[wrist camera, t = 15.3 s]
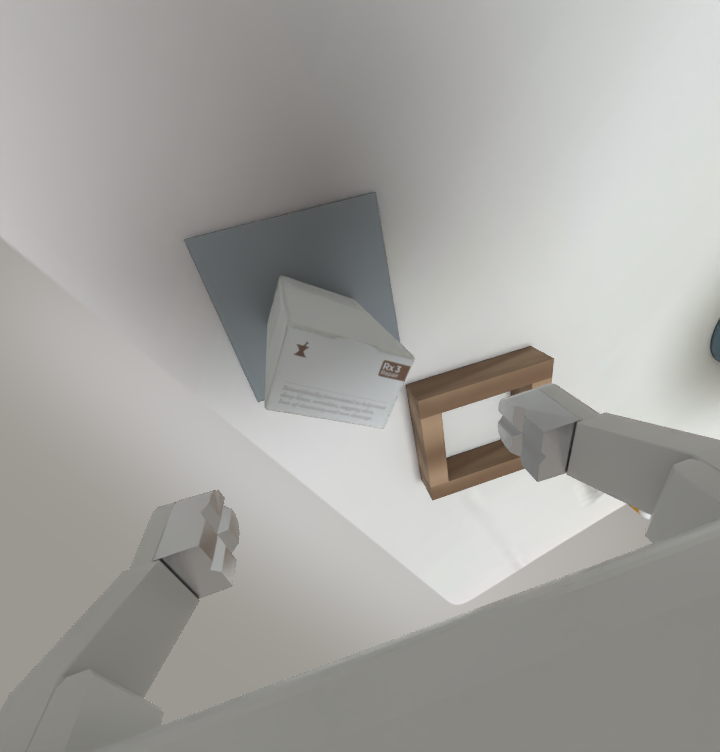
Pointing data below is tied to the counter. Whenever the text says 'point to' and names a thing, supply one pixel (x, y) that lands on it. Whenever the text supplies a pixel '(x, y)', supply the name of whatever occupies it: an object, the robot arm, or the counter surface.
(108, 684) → the robot arm
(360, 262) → the slate mat
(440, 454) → the walnut collar
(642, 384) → the counter surface
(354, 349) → the skincare box
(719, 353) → the cocktail glass
